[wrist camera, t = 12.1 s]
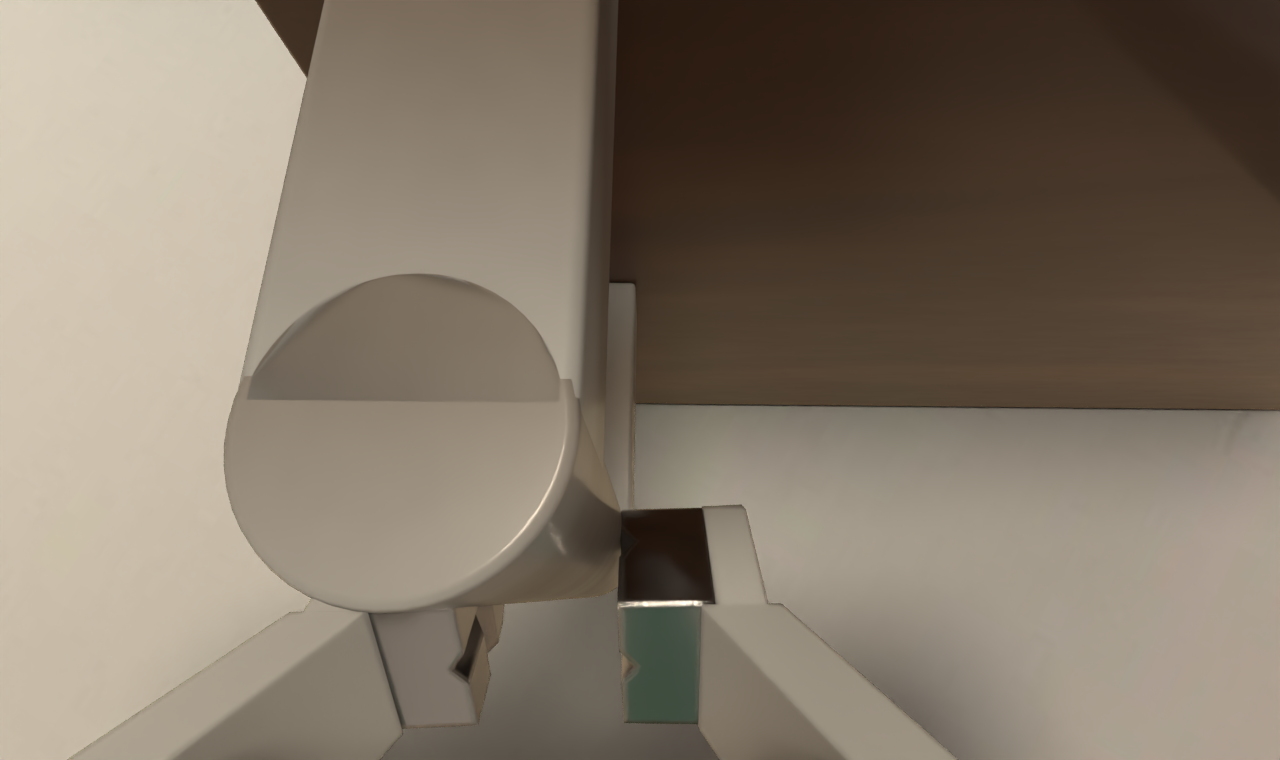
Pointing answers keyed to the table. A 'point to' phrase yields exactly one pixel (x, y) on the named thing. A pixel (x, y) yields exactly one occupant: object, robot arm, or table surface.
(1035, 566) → the table surface
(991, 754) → the table surface
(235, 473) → the cupboard door
